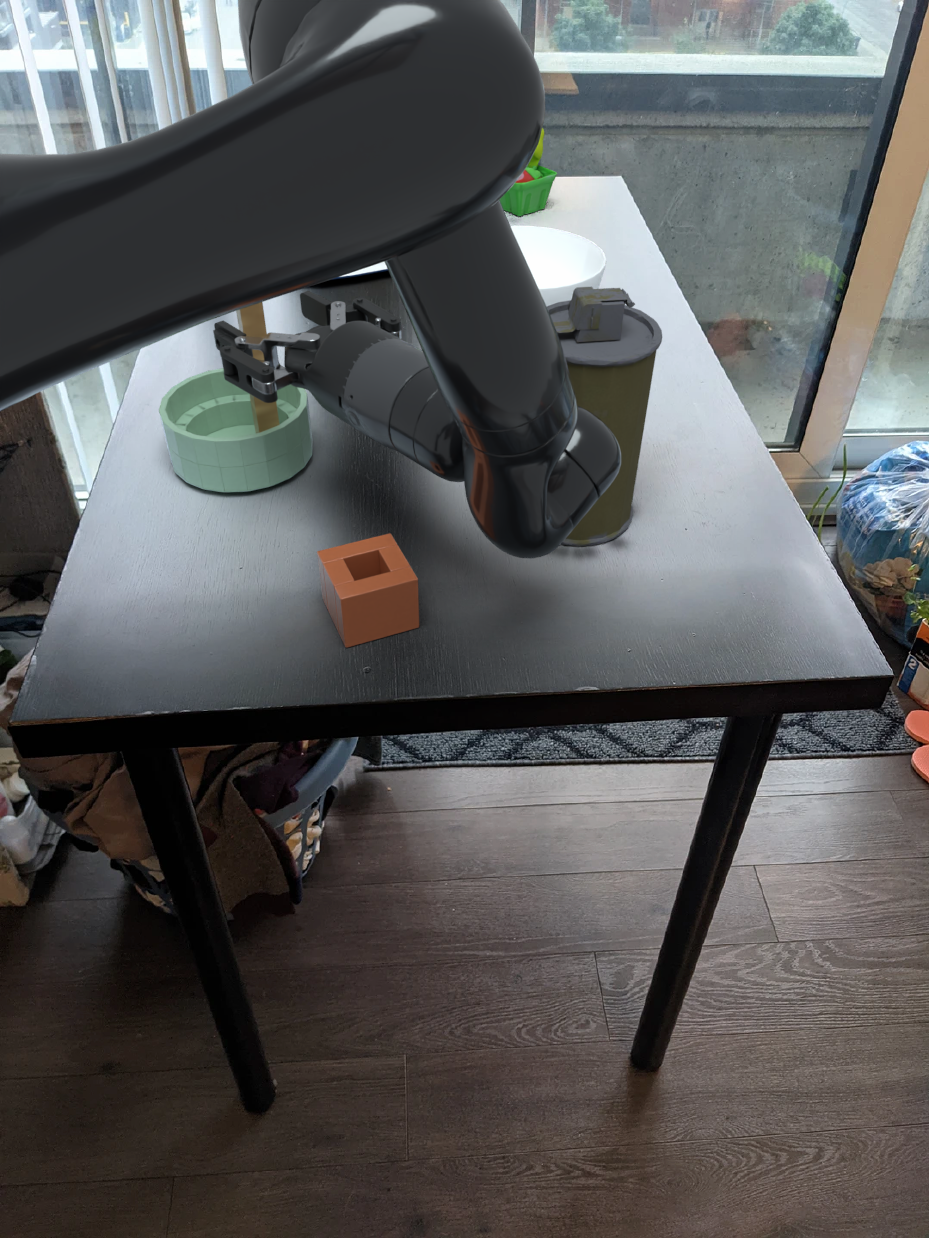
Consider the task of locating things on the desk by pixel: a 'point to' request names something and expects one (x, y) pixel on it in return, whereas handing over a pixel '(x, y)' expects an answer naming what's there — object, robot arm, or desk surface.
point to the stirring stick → (255, 326)
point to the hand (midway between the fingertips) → (262, 317)
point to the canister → (609, 390)
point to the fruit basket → (530, 186)
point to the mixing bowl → (233, 435)
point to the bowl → (560, 261)
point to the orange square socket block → (369, 589)
